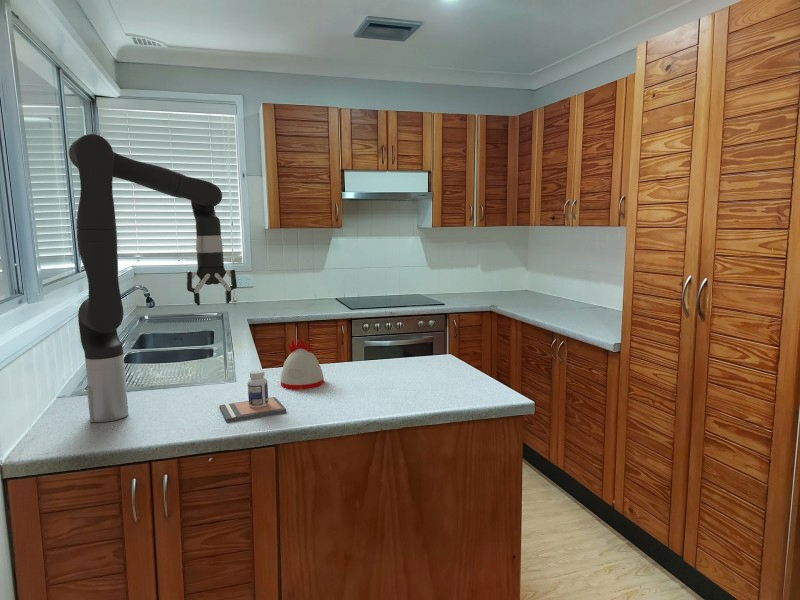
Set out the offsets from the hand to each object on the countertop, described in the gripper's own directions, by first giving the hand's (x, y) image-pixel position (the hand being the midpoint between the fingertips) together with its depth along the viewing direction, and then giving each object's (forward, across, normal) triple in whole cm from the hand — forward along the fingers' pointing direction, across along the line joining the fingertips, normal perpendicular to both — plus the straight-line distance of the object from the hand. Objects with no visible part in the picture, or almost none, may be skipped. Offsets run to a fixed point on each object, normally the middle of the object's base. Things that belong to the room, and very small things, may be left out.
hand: (213, 304), depth 170 cm
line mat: (+28, +6, -22) cm, 36 cm away
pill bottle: (+27, +8, -22) cm, 36 cm away
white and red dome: (+28, +26, -2) cm, 39 cm away
